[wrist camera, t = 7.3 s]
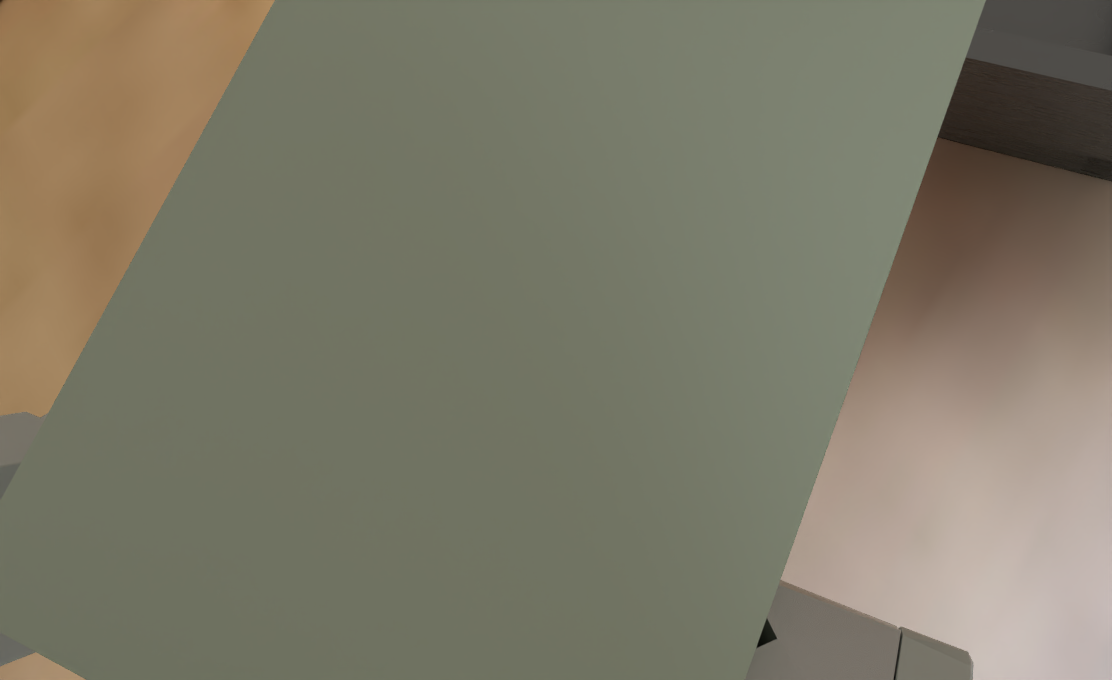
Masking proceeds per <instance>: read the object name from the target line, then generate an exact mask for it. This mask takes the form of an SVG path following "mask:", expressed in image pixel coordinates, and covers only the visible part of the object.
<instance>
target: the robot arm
mask: <svg viewBox="0 0 1112 680" xmlns="http://www.w3.org/2000/svg"><path fill="white" fill-rule="evenodd" d="M47 415H48V413H47V414H46V415H44V416H42V417H40V418H39V417H37V416H35V415H32V414H30V413H28V412H21V413H15V414H9V415H3V416H0V500H1V498H2V496H3V495H4V493H5V491H6V489H7V487H8V486H9V484H10V482H11V480H12V478H13V476H14V475H15V473H16V471H17V469H18V467H19V466H20V464H21V462H22V460H23V458H24V456H25V455H26V453H27V451H28V449H29V447H30V445H31V444H32V442H33V440H34V438H35V436H36V435H37V433H38V431H39V429H40V427H41V425H42V424H43V422H44V420H45V418H46V416H47ZM32 653H35V651H33V650H31V649H29V648H28V647H26V646H24V645H22V644H20V643H18V642H17V641H15V640H13V639H11V638H9V637H7V636H6V635H4V634H2V633H0V666H2V665H4V664H7V663H10V662H12V661H15V660H17V659H20V658H22V657H25V656H27V655H30V654H32ZM972 679H973V662H972V660H971V657H970V655H969V653H968V652H967V651H964V650H961V649H959V648H956V647H954V646H951V645H948V644H946V643H943V642H940V641H938V640H935V639H933V638H930V637H927V636H925V635H922V634H920V633H917V632H914V631H912V630H909V629H906V628H904V627H900V628H898V627H897V626H895V625H892V624H890V623H887V622H885V621H882V620H880V619H877V618H875V617H872V616H870V615H867V614H865V613H862V612H860V611H857V610H855V609H852V608H850V607H847V606H845V605H842V604H840V603H837V602H835V601H832V600H829V599H827V598H824V597H822V596H819V595H817V594H814V593H812V592H809V591H807V590H804V589H802V588H799V587H797V586H794V585H792V584H789V583H787V582H784V581H782V580H780V582H779V585H778V588H777V590H776V593H775V596H774V599H773V602H772V605H771V607H770V610H769V613H768V616H767V619H766V621H765V624H764V627H763V630H762V633H761V636H760V638H759V641H758V644H757V647H756V650H755V652H754V655H753V658H752V661H751V664H750V667H749V669H748V672H747V675H746V678H745V680H972Z"/></svg>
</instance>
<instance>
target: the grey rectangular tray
mask: <svg viewBox="0 0 1112 680" xmlns="http://www.w3.org/2000/svg"><path fill="white" fill-rule="evenodd" d="M938 137H940V138H944V139H948V140H952V141H956V142H959V143H963V144H967V145H971V146H975V147H979V148H983V149H987V150H991V151H995V152H999V153H1003V154H1007V155H1011V156H1015V157H1019V158H1023V159H1026V160H1030V161H1034V162H1038V163H1042V164H1046V165H1050V166H1054V167H1058V168H1062V169H1066V170H1070V171H1074V172H1078V173H1082V174H1086V175H1090V176H1093V177H1097V178H1101V179H1105V180H1109V181H1112V0H986V1H985V4H984V7H983V10H982V13H981V15H980V18H979V21H978V24H977V27H976V30H975V32H974V35H973V38H972V41H971V44H970V46H969V49H968V52H967V55H966V58H965V61H964V63H963V66H962V69H961V72H960V75H959V77H958V80H957V83H956V86H955V89H954V92H953V94H952V97H951V100H950V103H949V106H948V108H947V111H946V114H945V117H944V120H943V123H942V125H941V128H940V131H939V134H938Z"/></svg>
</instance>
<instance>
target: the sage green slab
mask: <svg viewBox="0 0 1112 680" xmlns="http://www.w3.org/2000/svg"><path fill="white" fill-rule="evenodd" d="M985 1H986V0H275V1H274V3H273V5H272V7H271V8H270V10H269V12H268V14H267V16H266V18H265V19H264V21H263V23H262V25H261V27H260V29H259V30H258V32H257V34H256V36H255V38H254V39H253V41H252V43H251V45H250V47H249V49H248V50H247V52H246V54H245V56H244V58H243V59H242V61H241V63H240V65H239V67H238V69H237V70H236V72H235V74H234V76H233V78H232V80H231V81H230V83H229V85H228V87H227V89H226V90H225V92H224V94H223V96H222V98H221V100H220V101H219V103H218V105H217V107H216V109H215V110H214V112H213V114H212V116H211V118H210V120H209V121H208V123H207V125H206V127H205V129H204V130H203V132H202V134H201V136H200V138H199V140H198V141H197V143H196V145H195V147H194V149H193V151H192V152H191V154H190V156H189V158H188V160H187V161H186V163H185V165H184V167H183V169H182V171H181V172H180V174H179V176H178V178H177V180H176V181H175V183H174V185H173V187H172V189H171V191H170V192H169V194H168V196H167V198H166V200H165V201H164V203H163V205H162V207H161V209H160V211H159V212H158V214H157V216H156V218H155V220H154V222H153V223H152V225H151V227H150V229H149V231H148V232H147V234H146V236H145V238H144V240H143V242H142V243H141V245H140V247H139V249H138V251H137V252H136V254H135V256H134V258H133V260H132V262H131V263H130V265H129V267H128V269H127V271H126V273H125V274H124V276H123V278H122V280H121V282H120V283H119V285H118V287H117V289H116V291H115V293H114V294H113V296H112V298H111V300H110V302H109V303H108V305H107V307H106V309H105V311H104V313H103V314H102V316H101V318H100V320H99V322H98V323H97V325H96V327H95V329H94V331H93V333H92V334H91V336H90V338H89V340H88V342H87V344H86V345H85V347H84V349H83V351H82V353H81V354H80V356H79V358H78V360H77V362H76V364H75V365H74V367H73V369H72V371H71V373H70V374H69V376H68V378H67V380H66V382H65V384H64V385H63V387H62V389H61V391H60V393H59V394H58V396H57V398H56V400H55V402H54V404H53V405H52V407H51V409H50V411H49V413H48V415H47V416H46V418H45V420H44V422H43V424H42V425H41V427H40V429H39V431H38V433H37V435H36V436H35V438H34V440H33V442H32V444H31V445H30V447H29V449H28V451H27V453H26V455H25V456H24V458H23V460H22V462H21V464H20V466H19V467H18V469H17V471H16V473H15V475H14V476H13V478H12V480H11V482H10V484H9V486H8V487H7V489H6V491H5V493H4V495H3V496H2V498H1V500H0V633H2V634H4V635H6V636H7V637H9V638H11V639H13V640H15V641H17V642H18V643H20V644H22V645H24V646H26V647H28V648H29V649H31V650H33V651H35V652H37V653H39V654H40V655H42V656H44V657H46V658H48V659H50V660H51V661H53V662H55V663H57V664H59V665H61V666H62V667H64V668H66V669H68V670H70V671H72V672H74V673H75V674H77V675H79V676H81V677H83V678H85V679H86V680H745V678H746V675H747V672H748V669H749V667H750V664H751V661H752V658H753V655H754V652H755V650H756V647H757V644H758V641H759V638H760V636H761V633H762V630H763V627H764V624H765V621H766V619H767V616H768V613H769V610H770V607H771V605H772V602H773V599H774V596H775V593H776V590H777V588H778V585H779V582H780V579H781V576H782V574H783V571H784V568H785V565H786V562H787V559H788V557H789V554H790V551H791V548H792V545H793V543H794V540H795V537H796V534H797V531H798V528H799V526H800V523H801V520H802V517H803V514H804V511H805V509H806V506H807V503H808V500H809V497H810V495H811V492H812V489H813V486H814V483H815V480H816V478H817V475H818V472H819V469H820V466H821V464H822V461H823V458H824V455H825V452H826V449H827V447H828V444H829V441H830V438H831V435H832V433H833V430H834V427H835V424H836V421H837V418H838V416H839V413H840V410H841V407H842V404H843V402H844V399H845V396H846V393H847V390H848V387H849V385H850V382H851V379H852V376H853V373H854V371H855V368H856V365H857V362H858V359H859V356H860V354H861V351H862V348H863V345H864V342H865V340H866V337H867V334H868V331H869V328H870V325H871V323H872V320H873V317H874V314H875V311H876V309H877V306H878V303H879V300H880V297H881V294H882V292H883V289H884V286H885V283H886V280H887V278H888V275H889V272H890V269H891V266H892V263H893V261H894V258H895V255H896V252H897V249H898V247H899V244H900V241H901V238H902V235H903V232H904V230H905V227H906V224H907V221H908V218H909V216H910V213H911V210H912V207H913V204H914V201H915V199H916V196H917V193H918V190H919V187H920V185H921V182H922V179H923V176H924V173H925V170H926V168H927V165H928V162H929V159H930V156H931V154H932V151H933V148H934V145H935V142H936V139H937V137H938V134H939V131H940V128H941V125H942V123H943V120H944V117H945V114H946V111H947V108H948V106H949V103H950V100H951V97H952V94H953V92H954V89H955V86H956V83H957V80H958V77H959V75H960V72H961V69H962V66H963V63H964V61H965V58H966V55H967V52H968V49H969V46H970V44H971V41H972V38H973V35H974V32H975V30H976V27H977V24H978V21H979V18H980V15H981V13H982V10H983V7H984V4H985Z"/></svg>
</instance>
